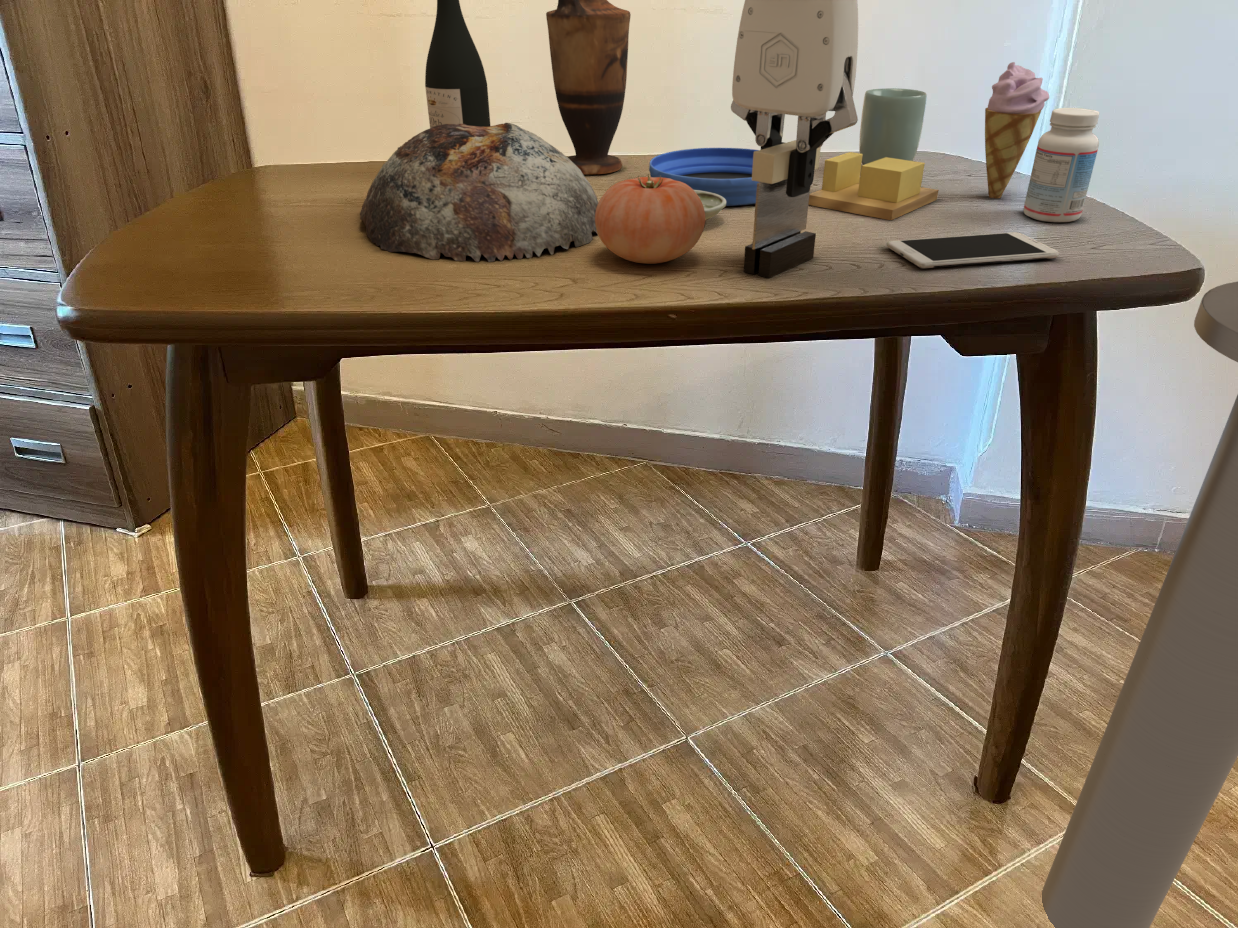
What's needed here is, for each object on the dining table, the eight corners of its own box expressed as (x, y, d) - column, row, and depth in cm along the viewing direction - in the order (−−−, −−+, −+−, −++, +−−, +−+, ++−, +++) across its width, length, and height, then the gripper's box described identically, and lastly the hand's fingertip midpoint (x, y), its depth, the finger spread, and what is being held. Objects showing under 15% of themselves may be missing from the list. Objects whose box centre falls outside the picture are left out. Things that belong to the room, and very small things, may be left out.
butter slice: (859, 183, 109) (862, 153, 107) (834, 192, 105) (838, 162, 103) (846, 181, 110) (849, 152, 108) (821, 190, 106) (824, 160, 104)
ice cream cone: (989, 188, 111) (1016, 58, 103) (1035, 197, 107) (1067, 63, 99) (959, 196, 107) (984, 62, 100) (1005, 206, 103) (1035, 67, 95)
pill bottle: (1066, 209, 102) (1092, 106, 96) (1089, 224, 96) (1118, 115, 91) (1013, 209, 102) (1036, 106, 96) (1033, 224, 97) (1059, 116, 91)
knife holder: (813, 258, 87) (816, 233, 86) (768, 278, 82) (770, 252, 80) (788, 252, 88) (790, 228, 87) (743, 272, 83) (744, 246, 82)
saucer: (671, 237, 93) (672, 214, 92) (623, 217, 100) (623, 195, 99) (742, 223, 98) (744, 201, 96) (692, 205, 105) (692, 184, 103)
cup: (895, 163, 123) (906, 87, 118) (925, 175, 117) (939, 95, 112) (845, 167, 122) (854, 90, 116) (873, 179, 115) (884, 98, 110)
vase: (592, 157, 129) (586, -83, 113) (646, 168, 122) (648, -85, 107) (536, 169, 122) (523, -84, 107) (591, 181, 115) (585, -87, 100)
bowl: (722, 168, 122) (723, 141, 120) (821, 192, 109) (825, 163, 107) (620, 188, 112) (619, 159, 110) (716, 217, 100) (717, 186, 98)
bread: (561, 178, 117) (557, 98, 112) (643, 245, 91) (644, 145, 86) (351, 195, 110) (337, 111, 105) (375, 275, 83) (358, 167, 78)
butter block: (920, 193, 104) (925, 162, 102) (896, 203, 100) (901, 171, 98) (881, 186, 107) (885, 157, 105) (857, 196, 103) (861, 165, 101)
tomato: (726, 262, 86) (730, 179, 82) (636, 283, 81) (636, 196, 77) (660, 236, 94) (662, 159, 90) (575, 254, 88) (572, 173, 84)
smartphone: (884, 240, 89) (1018, 231, 91) (883, 247, 89) (1016, 237, 92) (920, 263, 83) (1062, 252, 85) (919, 269, 83) (1061, 258, 85)
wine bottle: (455, 184, 115) (428, -85, 99) (424, 174, 120) (393, -83, 104) (505, 174, 119) (486, -84, 104) (473, 165, 124) (450, -83, 109)
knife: (814, 231, 86) (824, 140, 82) (763, 252, 80) (771, 156, 76) (795, 226, 87) (804, 137, 83) (743, 247, 82) (750, 152, 77)
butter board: (937, 200, 106) (938, 189, 105) (891, 220, 98) (892, 209, 98) (855, 186, 112) (856, 176, 112) (806, 204, 105) (807, 194, 104)
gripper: (700, -36, 74) (691, 186, 84) (871, -33, 65) (840, 215, 75) (750, -37, 79) (736, 172, 88) (916, -35, 70) (882, 198, 79)
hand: (784, 190), depth 81 cm, fingers closed on knife, 2 cm apart
